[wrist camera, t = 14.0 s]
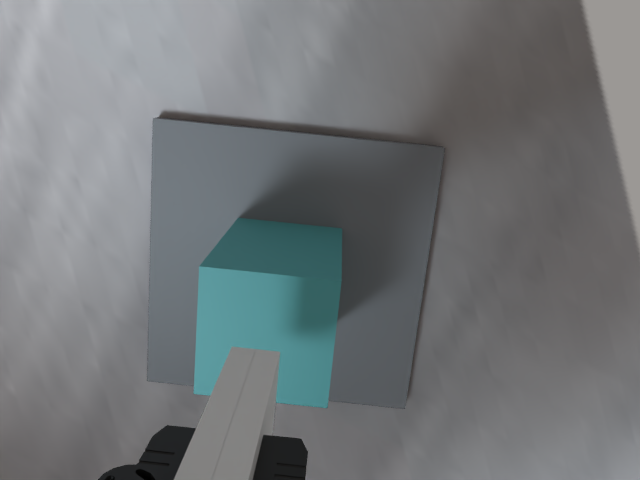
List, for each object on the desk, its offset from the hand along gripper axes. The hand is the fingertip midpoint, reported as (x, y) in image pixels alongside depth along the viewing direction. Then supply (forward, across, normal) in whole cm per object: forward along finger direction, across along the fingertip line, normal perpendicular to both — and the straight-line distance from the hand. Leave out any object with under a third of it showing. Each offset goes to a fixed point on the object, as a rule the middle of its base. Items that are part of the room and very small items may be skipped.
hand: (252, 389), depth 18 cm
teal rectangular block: (+12, 0, 0) cm, 12 cm away
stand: (+13, 0, 0) cm, 13 cm away
